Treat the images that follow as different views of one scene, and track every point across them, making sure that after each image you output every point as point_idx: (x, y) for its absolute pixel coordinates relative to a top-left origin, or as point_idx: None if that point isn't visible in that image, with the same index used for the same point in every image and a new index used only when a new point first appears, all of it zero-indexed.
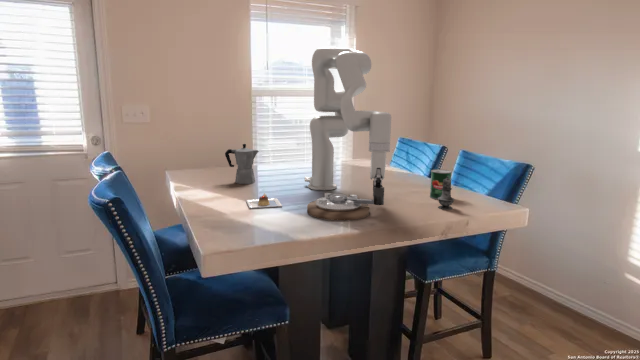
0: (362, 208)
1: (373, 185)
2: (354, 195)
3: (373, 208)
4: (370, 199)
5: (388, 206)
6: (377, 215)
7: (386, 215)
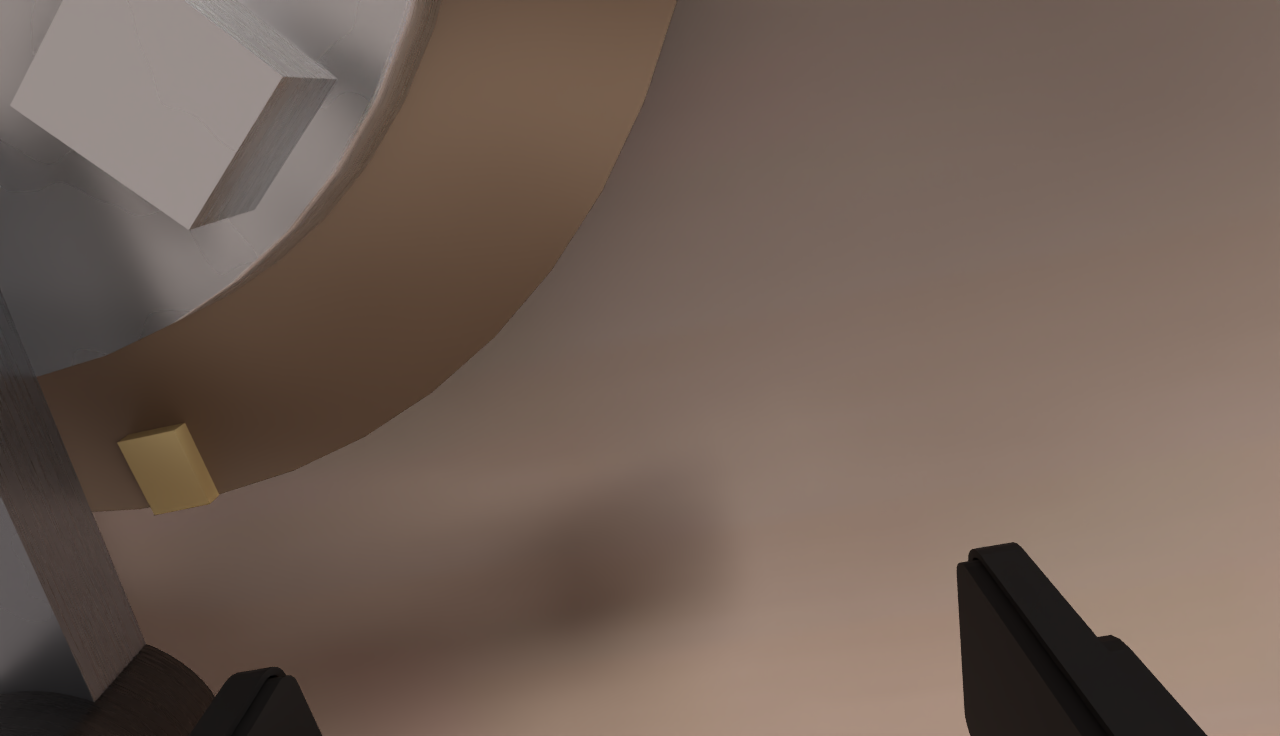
0: None
1: (1065, 657)
2: (114, 143)
3: (567, 453)
4: (45, 626)
5: (788, 641)
6: (166, 585)
7: None
